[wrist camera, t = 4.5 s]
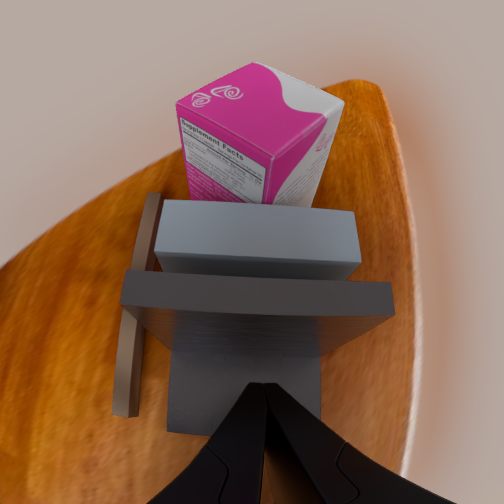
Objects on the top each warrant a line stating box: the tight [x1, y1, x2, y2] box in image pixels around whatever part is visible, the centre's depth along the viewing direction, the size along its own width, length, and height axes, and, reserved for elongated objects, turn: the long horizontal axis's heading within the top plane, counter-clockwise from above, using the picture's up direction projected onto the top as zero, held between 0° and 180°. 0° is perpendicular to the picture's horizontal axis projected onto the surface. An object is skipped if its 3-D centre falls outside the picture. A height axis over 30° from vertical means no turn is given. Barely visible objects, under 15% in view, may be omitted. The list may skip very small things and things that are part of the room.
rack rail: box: [112, 193, 164, 418], centre depth 18 cm, size 15×1×2 cm, turn 179°
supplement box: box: [176, 62, 344, 208], centre depth 17 cm, size 6×6×12 cm
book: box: [154, 200, 362, 281], centre depth 16 cm, size 2×8×9 cm, turn 88°
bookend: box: [120, 269, 395, 436], centre depth 13 cm, size 6×9×10 cm
